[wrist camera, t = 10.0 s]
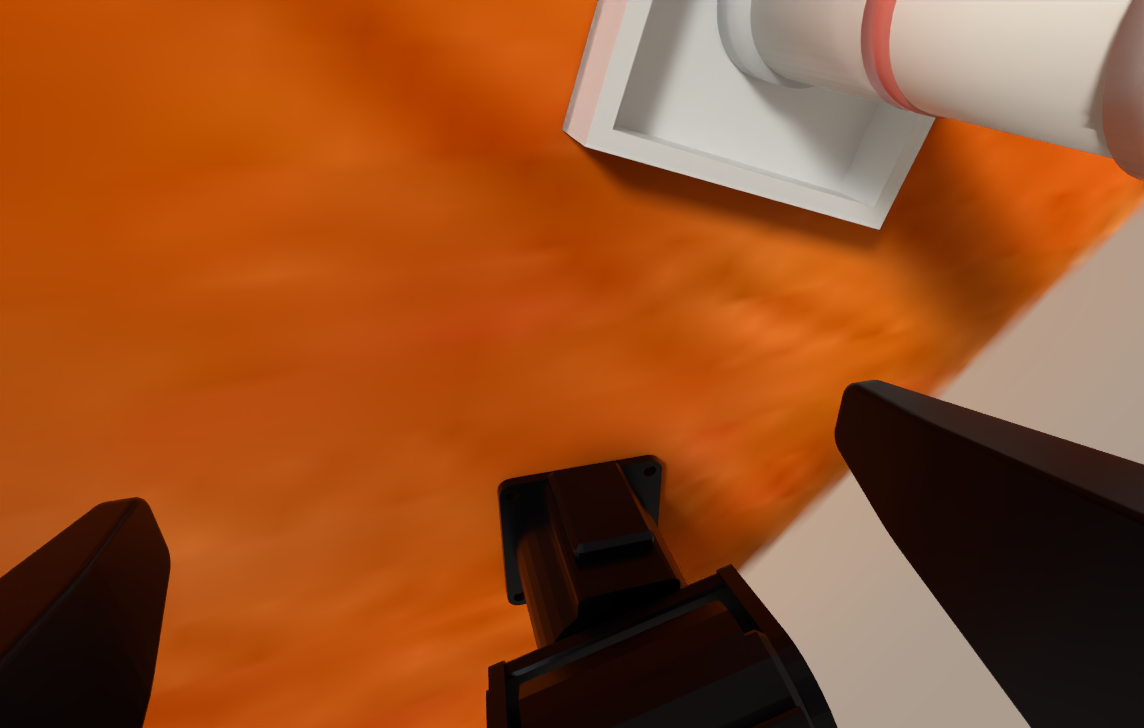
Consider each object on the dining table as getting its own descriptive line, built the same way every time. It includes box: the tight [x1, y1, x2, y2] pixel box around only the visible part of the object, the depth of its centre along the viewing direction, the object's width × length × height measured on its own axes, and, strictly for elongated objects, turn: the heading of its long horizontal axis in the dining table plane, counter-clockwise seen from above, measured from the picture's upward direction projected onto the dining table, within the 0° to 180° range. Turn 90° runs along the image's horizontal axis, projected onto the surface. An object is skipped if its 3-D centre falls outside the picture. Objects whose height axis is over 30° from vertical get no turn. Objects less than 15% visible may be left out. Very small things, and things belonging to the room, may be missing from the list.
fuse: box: [717, 0, 1144, 181], centre depth 13 cm, size 4×4×13 cm
